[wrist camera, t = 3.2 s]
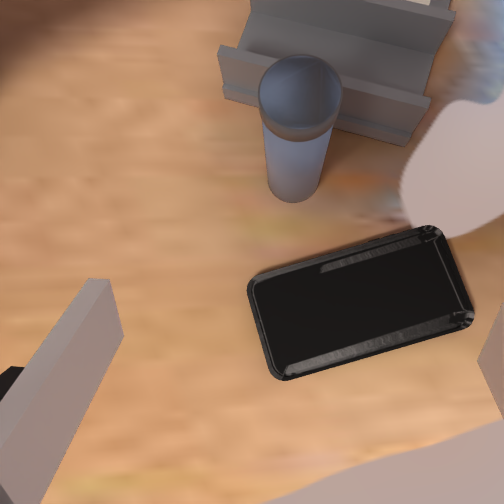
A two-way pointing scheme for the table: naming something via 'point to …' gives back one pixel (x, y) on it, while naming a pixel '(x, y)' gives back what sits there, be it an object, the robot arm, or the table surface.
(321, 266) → the phone
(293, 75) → the grey cylinder
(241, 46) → the rack
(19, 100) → the table surface
